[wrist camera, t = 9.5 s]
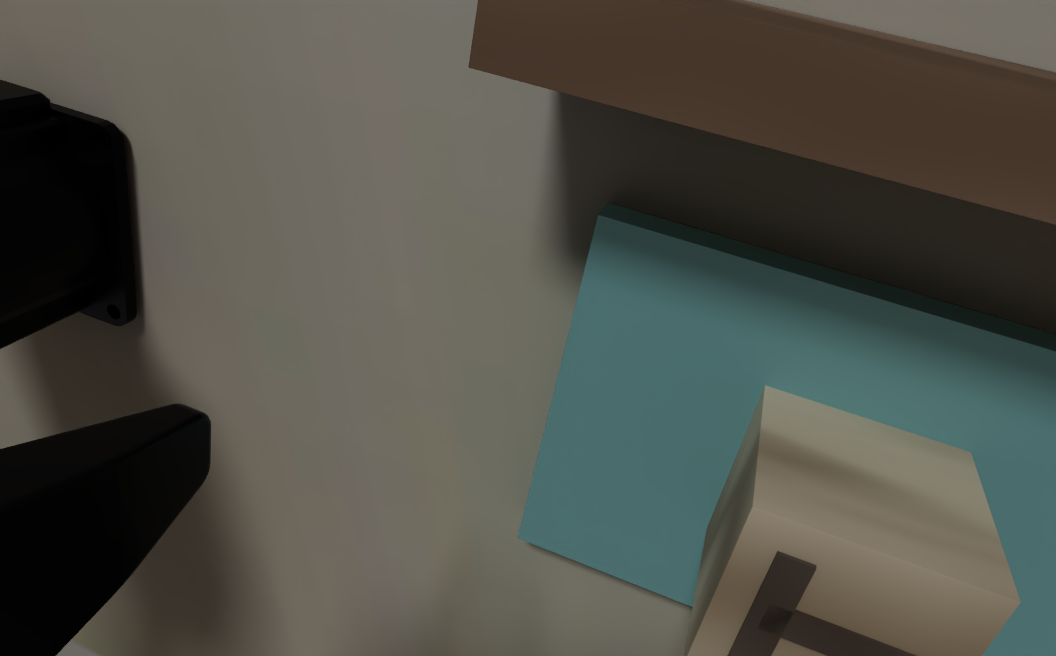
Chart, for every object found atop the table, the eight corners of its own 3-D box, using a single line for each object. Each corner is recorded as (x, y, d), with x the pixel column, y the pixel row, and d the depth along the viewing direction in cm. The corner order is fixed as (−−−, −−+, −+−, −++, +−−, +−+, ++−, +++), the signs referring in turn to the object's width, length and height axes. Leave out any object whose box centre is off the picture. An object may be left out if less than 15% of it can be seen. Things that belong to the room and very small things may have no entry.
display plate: (1025, 708, 20) (1034, 742, 19) (528, 516, 23) (517, 538, 22) (1278, 400, 15) (1308, 426, 14) (608, 202, 18) (598, 214, 17)
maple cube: (885, 594, 19) (906, 764, 15) (706, 528, 19) (680, 672, 16) (970, 452, 16) (1022, 606, 12) (765, 385, 17) (752, 510, 13)
